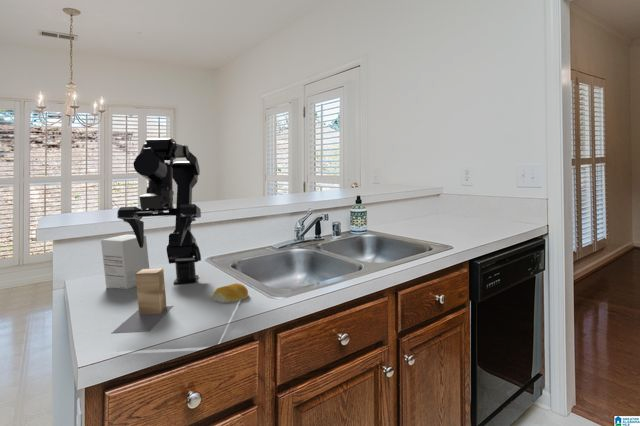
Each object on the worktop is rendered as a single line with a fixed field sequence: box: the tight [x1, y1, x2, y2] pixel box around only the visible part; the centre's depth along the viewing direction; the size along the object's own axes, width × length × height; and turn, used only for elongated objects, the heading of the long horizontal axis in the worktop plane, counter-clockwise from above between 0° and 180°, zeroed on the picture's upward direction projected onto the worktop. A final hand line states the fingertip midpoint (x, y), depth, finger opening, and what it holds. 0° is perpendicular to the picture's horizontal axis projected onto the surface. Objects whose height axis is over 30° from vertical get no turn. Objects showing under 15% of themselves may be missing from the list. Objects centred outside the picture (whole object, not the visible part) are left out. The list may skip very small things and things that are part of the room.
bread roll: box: [212, 282, 249, 304], centre depth 99 cm, size 8×9×4 cm
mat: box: [111, 305, 174, 334], centre depth 85 cm, size 14×8×1 cm, turn 3°
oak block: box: [136, 267, 168, 314], centre depth 89 cm, size 4×5×10 cm
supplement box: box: [100, 233, 150, 290], centre depth 112 cm, size 9×9×15 cm
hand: (160, 246), depth 92 cm, fingers open, 9 cm apart
